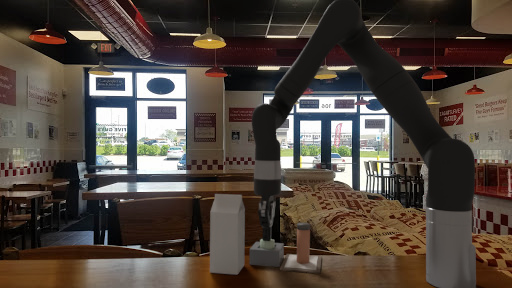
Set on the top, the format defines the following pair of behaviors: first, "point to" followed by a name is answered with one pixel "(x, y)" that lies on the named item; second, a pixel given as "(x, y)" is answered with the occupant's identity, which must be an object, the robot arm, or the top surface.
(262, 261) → the button box
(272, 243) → the button
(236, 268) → the milk carton
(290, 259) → the picture frame
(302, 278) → the top surface
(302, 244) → the pink capped bottle
